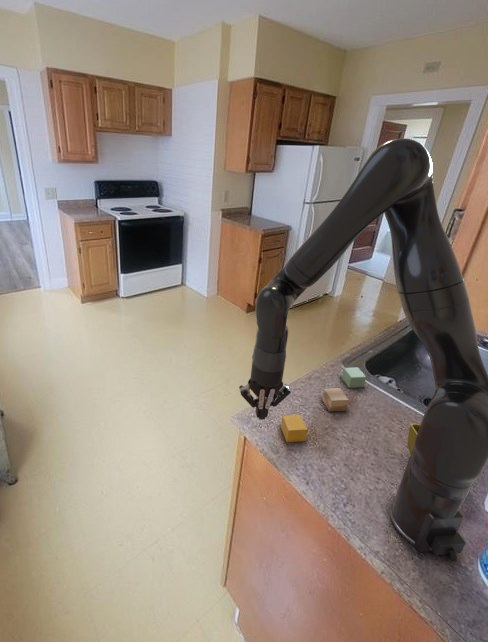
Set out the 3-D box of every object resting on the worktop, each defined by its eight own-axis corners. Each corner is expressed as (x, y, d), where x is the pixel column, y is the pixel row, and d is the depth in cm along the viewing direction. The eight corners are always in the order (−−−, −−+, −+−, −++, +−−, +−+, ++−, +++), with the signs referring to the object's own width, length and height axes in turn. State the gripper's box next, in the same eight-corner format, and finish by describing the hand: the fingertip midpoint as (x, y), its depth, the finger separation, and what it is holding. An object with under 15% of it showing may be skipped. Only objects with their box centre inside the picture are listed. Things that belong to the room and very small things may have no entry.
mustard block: (305, 441, 83) (307, 429, 81) (286, 442, 82) (288, 430, 81) (298, 425, 88) (300, 414, 86) (280, 426, 87) (282, 415, 86)
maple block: (345, 410, 93) (348, 399, 92) (329, 411, 93) (331, 400, 91) (337, 398, 98) (340, 388, 96) (321, 399, 97) (324, 388, 96)
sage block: (363, 387, 103) (366, 376, 101) (348, 387, 102) (351, 377, 101) (355, 377, 108) (357, 367, 106) (341, 377, 107) (343, 367, 106)
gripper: (244, 372, 71) (238, 430, 78) (301, 370, 73) (291, 427, 79) (237, 352, 78) (233, 407, 85) (290, 351, 80) (281, 405, 86)
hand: (261, 417), depth 82 cm, fingers closed
